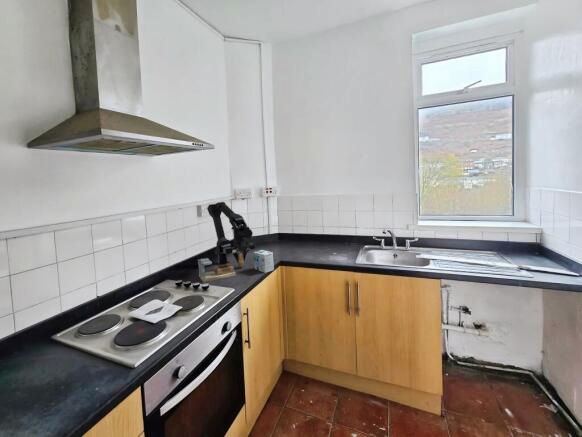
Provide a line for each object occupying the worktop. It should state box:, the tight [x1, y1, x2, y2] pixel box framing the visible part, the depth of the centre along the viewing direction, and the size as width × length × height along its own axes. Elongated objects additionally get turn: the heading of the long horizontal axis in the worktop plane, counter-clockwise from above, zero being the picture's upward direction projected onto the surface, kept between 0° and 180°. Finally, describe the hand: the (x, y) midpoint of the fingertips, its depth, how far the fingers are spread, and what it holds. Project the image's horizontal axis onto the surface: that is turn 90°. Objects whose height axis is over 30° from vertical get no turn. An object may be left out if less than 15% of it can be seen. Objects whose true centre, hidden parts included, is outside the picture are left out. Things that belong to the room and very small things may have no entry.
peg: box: [237, 252, 245, 268], centre depth 171 cm, size 4×4×8 cm
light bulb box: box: [253, 249, 275, 274], centre depth 164 cm, size 11×7×11 cm, turn 45°
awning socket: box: [197, 257, 237, 283], centre depth 158 cm, size 12×18×10 cm, turn 119°
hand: (240, 261), depth 171 cm, fingers closed on peg, 4 cm apart
